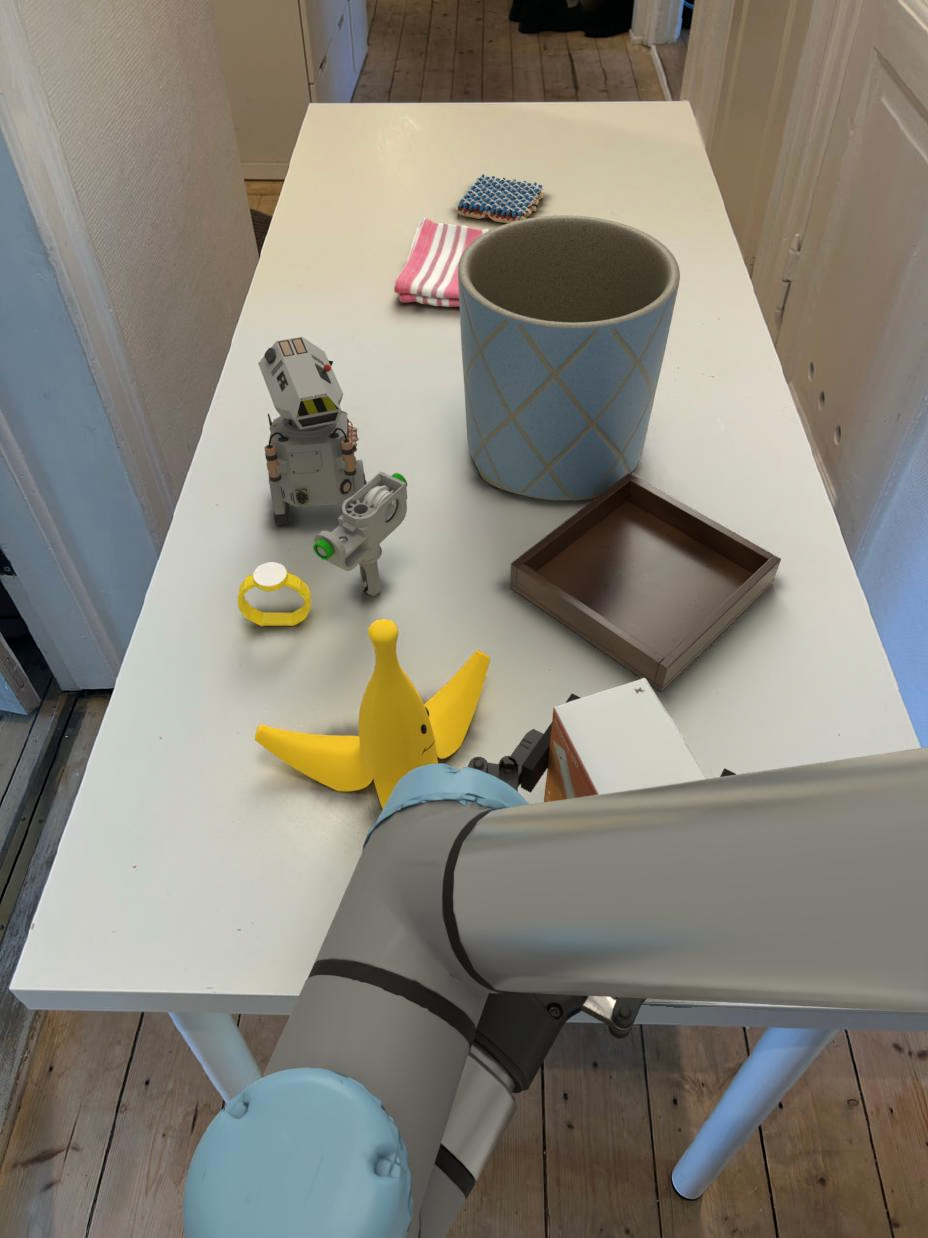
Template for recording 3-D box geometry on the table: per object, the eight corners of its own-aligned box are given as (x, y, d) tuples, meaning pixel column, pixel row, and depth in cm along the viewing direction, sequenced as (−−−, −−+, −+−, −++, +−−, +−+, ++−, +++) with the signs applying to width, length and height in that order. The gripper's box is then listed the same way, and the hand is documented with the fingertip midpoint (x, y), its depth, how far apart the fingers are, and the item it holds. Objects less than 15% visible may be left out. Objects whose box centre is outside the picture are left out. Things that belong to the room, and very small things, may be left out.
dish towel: (418, 240, 122) (417, 214, 119) (590, 250, 119) (593, 225, 117) (392, 306, 111) (390, 280, 108) (581, 320, 108) (584, 293, 106)
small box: (540, 810, 63) (550, 703, 53) (622, 783, 64) (646, 673, 55) (589, 916, 58) (609, 819, 48) (676, 884, 59) (714, 783, 50)
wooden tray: (772, 583, 80) (781, 558, 78) (661, 692, 72) (667, 669, 70) (624, 496, 88) (628, 472, 85) (509, 587, 80) (510, 563, 78)
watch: (243, 634, 77) (228, 587, 72) (246, 610, 79) (232, 563, 74) (313, 631, 77) (303, 584, 73) (315, 607, 79) (305, 559, 74)
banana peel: (491, 676, 74) (493, 527, 61) (462, 897, 62) (457, 769, 49) (294, 658, 75) (256, 509, 62) (228, 870, 63) (164, 740, 50)
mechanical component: (321, 618, 78) (304, 535, 70) (393, 549, 83) (385, 465, 76) (347, 633, 77) (333, 550, 69) (419, 562, 82) (413, 478, 75)
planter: (479, 386, 100) (478, 207, 85) (652, 403, 97) (683, 222, 82) (445, 500, 88) (437, 315, 72) (641, 523, 85) (676, 336, 70)
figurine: (366, 454, 92) (350, 323, 81) (369, 531, 85) (352, 399, 74) (277, 460, 92) (248, 329, 81) (273, 539, 84) (240, 406, 73)
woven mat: (547, 195, 130) (547, 181, 128) (523, 229, 123) (524, 214, 122) (479, 185, 132) (479, 171, 131) (453, 217, 126) (452, 202, 124)
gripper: (302, 961, 53) (499, 701, 65) (650, 1206, 45) (802, 856, 57) (280, 910, 47) (500, 635, 59) (674, 1180, 39) (837, 797, 51)
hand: (648, 743), depth 58 cm, fingers closed on small box, 10 cm apart
